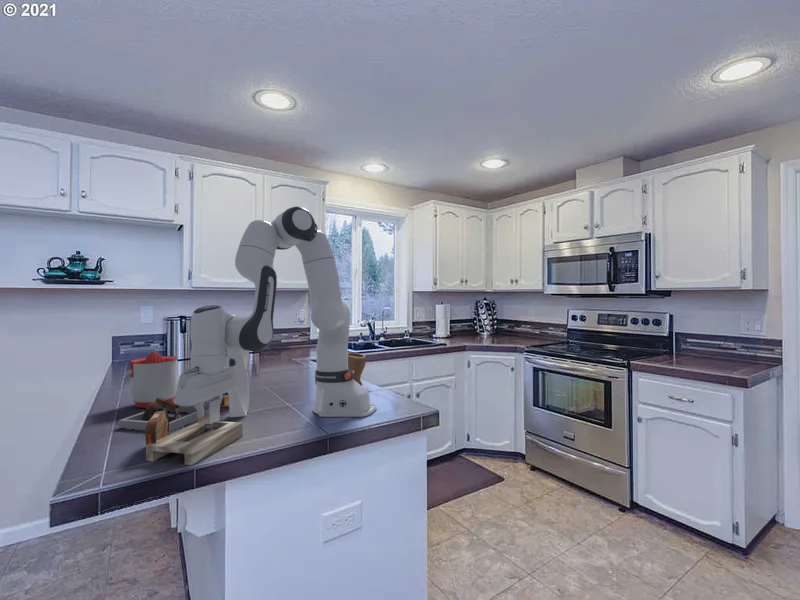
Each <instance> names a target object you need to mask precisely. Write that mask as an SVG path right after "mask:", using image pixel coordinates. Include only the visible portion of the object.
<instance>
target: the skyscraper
mask: <svg viewBox="0 0 800 600" xmlns="http://www.w3.org/2000/svg"><path fill="white" fill-rule="evenodd" d="M227 354H228V357H231V358H235V359H237V365H236V366H234V367H236V369H237V385H236V388H235V389H234V390H232V391H229V406H228V408H229V411H228V413H229V418H239V417H247V416H248V415H247V414H248V413H249V411H250V410H249V409H250V407H249V406H250V387H249V375H248V366H249V365H248V364H249V356H250V351H247V350H241V349H232V348H227ZM247 412H248V413H247Z"/></svg>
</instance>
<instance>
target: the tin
mask: <svg viewBox="0 0 800 600" xmlns="http://www.w3.org/2000/svg"><path fill="white" fill-rule="evenodd" d="M169 422H170V417H169V412H167V410H165V411H158V412H155V413H154V414H153V416H152V417H151V418H150V419H149V421H148V422H147V425H146V429H145V430H144V433H145V434H144V436H145V446H146V445H148V444H151V443H156V441H157V440H159V439H161V438H164V437H166V436H168V435H170V432H169Z"/></svg>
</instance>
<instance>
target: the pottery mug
mask: <svg viewBox="0 0 800 600" xmlns="http://www.w3.org/2000/svg"><path fill="white" fill-rule="evenodd" d="M178 407H179V405H177V403H176V402H175V403H174V402H170V401H167V400H165V399H162V398H157V399H156V401H154V402H152V403H150V404H149V405H148V407H147V408H145V410H144V412H145V413H144V415H143V419H142V421H149V419H150V418H151V417H152V416H153V414H154V413H155V412H158V411H163V409H164V408H168V409H172V411H175V412H174V416H173V418H174V419H175V418H176V419H177V417H178V413H179V412H178V410H177V408H178Z"/></svg>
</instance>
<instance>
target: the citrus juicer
mask: <svg viewBox="0 0 800 600" xmlns="http://www.w3.org/2000/svg"><path fill="white" fill-rule="evenodd" d="M178 359H179V357H177V356H165V355H163V356H162V355H161V354H160V353H158V352H157V351H152V352H151V353H149V355H148V356H147V357H142V358H136V359H131V360H130V361H129V369H128V370H126V371H125V372H124V373H123V378H127V377H129V378H130V380H129V381H130V384H129V385H130V392H131V393H130V394H131V397H132V399H133V402H134V405H135V407H137V408H142V409H144V408H145V409H146V408H147V407H148V405H149V404H150V403H152V402H154V401H156V399H157V398H162V399H165V400H167V401H170V402H173V401H174V399H175V398H176V394H177V385H178V381H179V377H178V376H179V375H178ZM173 403H174V402H173Z"/></svg>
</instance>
